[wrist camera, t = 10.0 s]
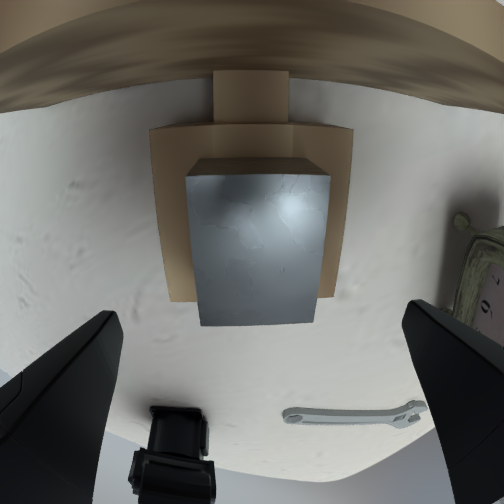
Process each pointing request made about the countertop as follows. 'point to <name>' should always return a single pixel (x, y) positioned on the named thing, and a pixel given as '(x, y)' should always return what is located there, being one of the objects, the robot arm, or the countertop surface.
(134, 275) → the countertop surface
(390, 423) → the adjustable wrench
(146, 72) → the wooden desk organizer
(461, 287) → the tabletop clock
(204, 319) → the grey rectangular block
